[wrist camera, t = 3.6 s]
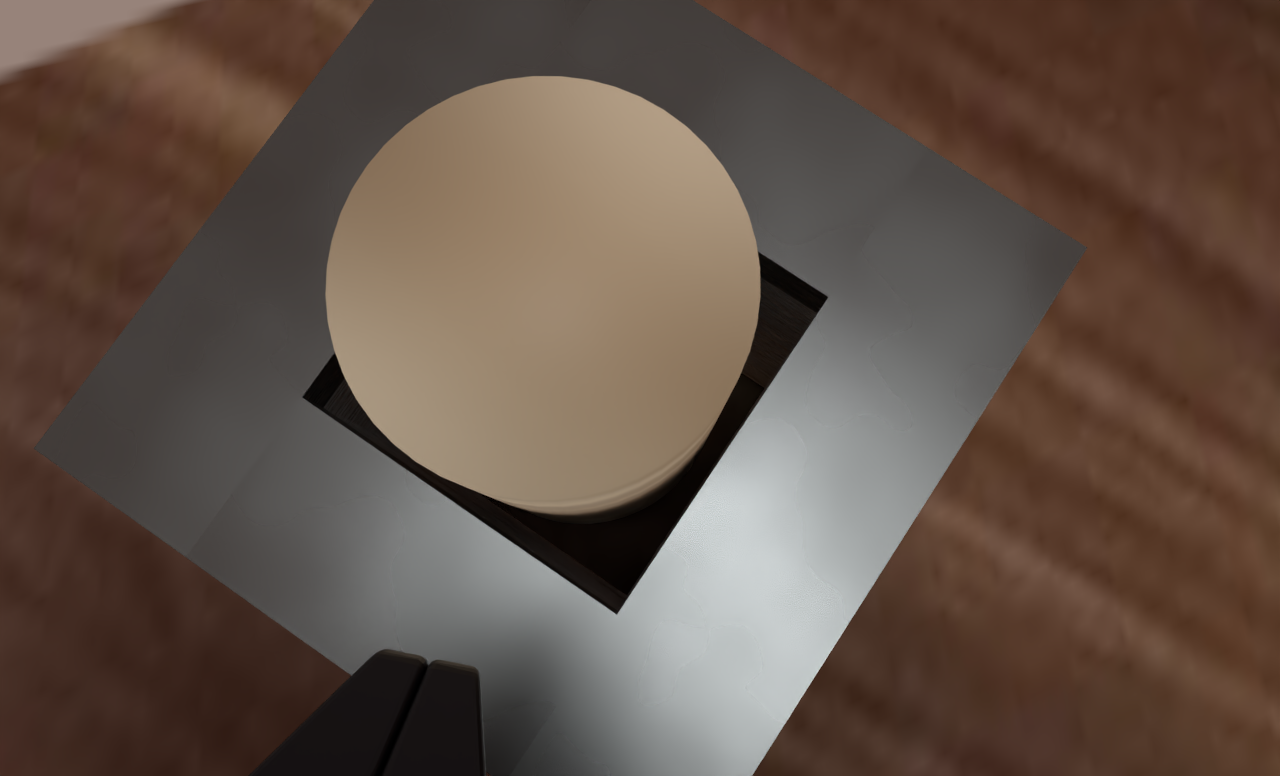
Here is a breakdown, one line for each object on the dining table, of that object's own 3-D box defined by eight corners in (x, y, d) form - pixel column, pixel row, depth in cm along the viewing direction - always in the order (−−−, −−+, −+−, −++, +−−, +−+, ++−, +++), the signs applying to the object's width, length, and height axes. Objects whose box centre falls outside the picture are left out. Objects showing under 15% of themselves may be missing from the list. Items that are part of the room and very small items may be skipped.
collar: (661, 777, 22) (671, 903, 14) (248, 487, 22) (33, 448, 15) (933, 355, 23) (1086, 247, 15) (532, 96, 24) (476, -136, 16)
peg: (618, 576, 18) (599, 588, 11) (399, 426, 19) (237, 339, 11) (764, 357, 19) (844, 224, 11) (550, 216, 19) (490, -2, 12)
